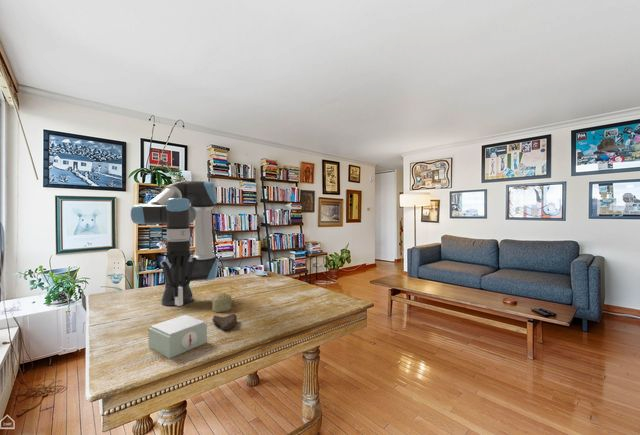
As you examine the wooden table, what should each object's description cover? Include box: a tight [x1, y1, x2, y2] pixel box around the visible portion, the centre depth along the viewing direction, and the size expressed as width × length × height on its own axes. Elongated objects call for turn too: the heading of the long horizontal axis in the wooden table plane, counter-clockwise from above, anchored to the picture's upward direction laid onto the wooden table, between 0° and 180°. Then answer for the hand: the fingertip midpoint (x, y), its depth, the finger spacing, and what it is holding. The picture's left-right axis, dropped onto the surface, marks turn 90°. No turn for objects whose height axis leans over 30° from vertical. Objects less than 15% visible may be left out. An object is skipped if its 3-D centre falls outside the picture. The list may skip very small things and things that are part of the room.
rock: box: [211, 313, 238, 331], centre depth 118 cm, size 11×10×4 cm
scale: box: [148, 314, 208, 359], centre depth 101 cm, size 15×14×8 cm
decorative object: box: [211, 292, 233, 313], centre depth 139 cm, size 9×10×10 cm
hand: (178, 304), depth 101 cm, fingers closed
